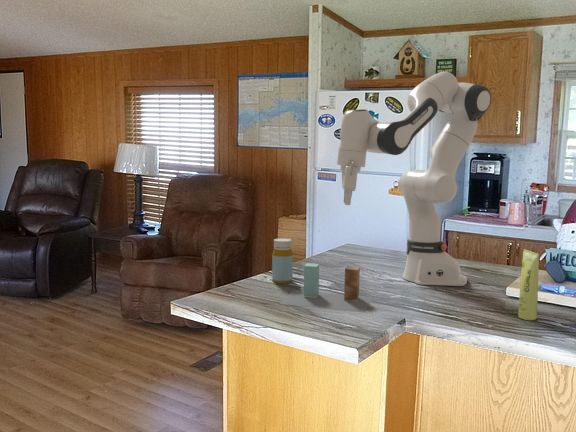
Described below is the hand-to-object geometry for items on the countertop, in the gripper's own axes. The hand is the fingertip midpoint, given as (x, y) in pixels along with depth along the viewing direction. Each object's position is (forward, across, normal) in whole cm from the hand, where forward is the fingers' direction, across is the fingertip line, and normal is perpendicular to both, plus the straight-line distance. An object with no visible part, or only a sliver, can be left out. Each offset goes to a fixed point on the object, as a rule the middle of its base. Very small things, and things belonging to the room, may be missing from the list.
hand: (346, 204), depth 183 cm
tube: (+26, -17, -54) cm, 62 cm away
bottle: (+30, +15, +19) cm, 39 cm away
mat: (+30, -7, +3) cm, 31 cm away
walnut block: (+29, -5, -4) cm, 30 cm away
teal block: (+30, -2, +8) cm, 31 cm away
